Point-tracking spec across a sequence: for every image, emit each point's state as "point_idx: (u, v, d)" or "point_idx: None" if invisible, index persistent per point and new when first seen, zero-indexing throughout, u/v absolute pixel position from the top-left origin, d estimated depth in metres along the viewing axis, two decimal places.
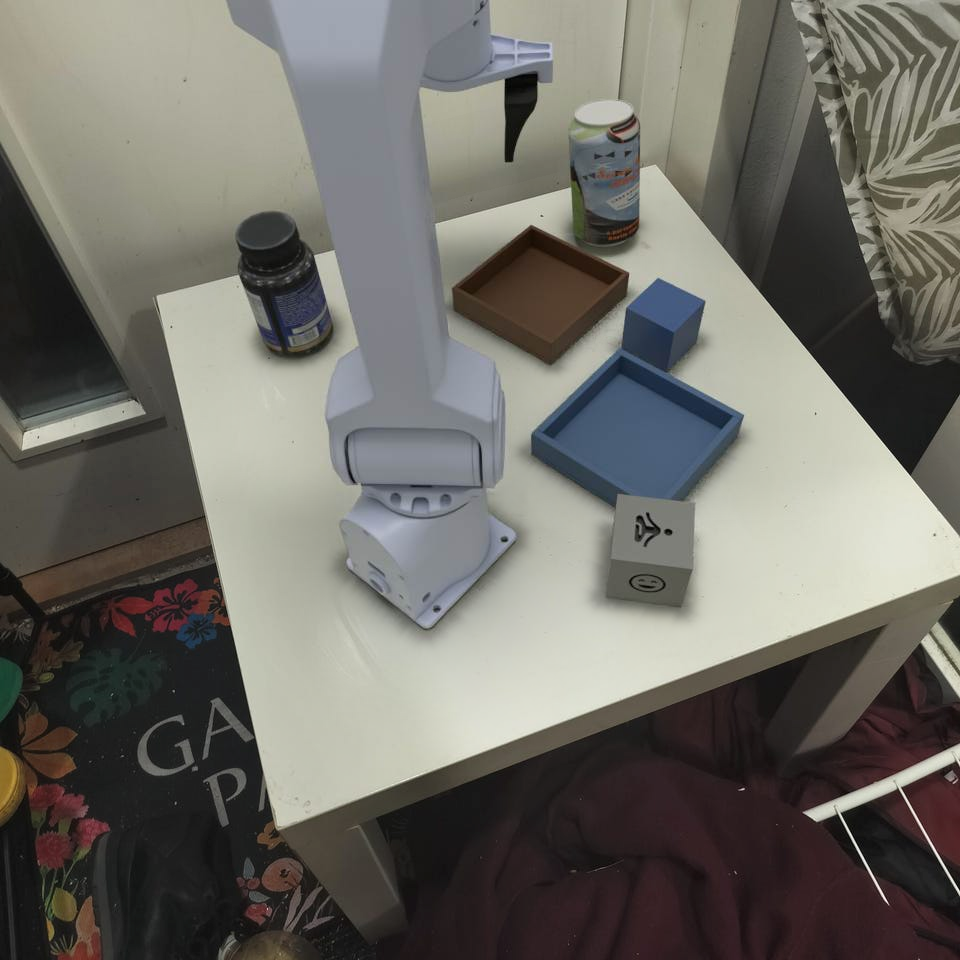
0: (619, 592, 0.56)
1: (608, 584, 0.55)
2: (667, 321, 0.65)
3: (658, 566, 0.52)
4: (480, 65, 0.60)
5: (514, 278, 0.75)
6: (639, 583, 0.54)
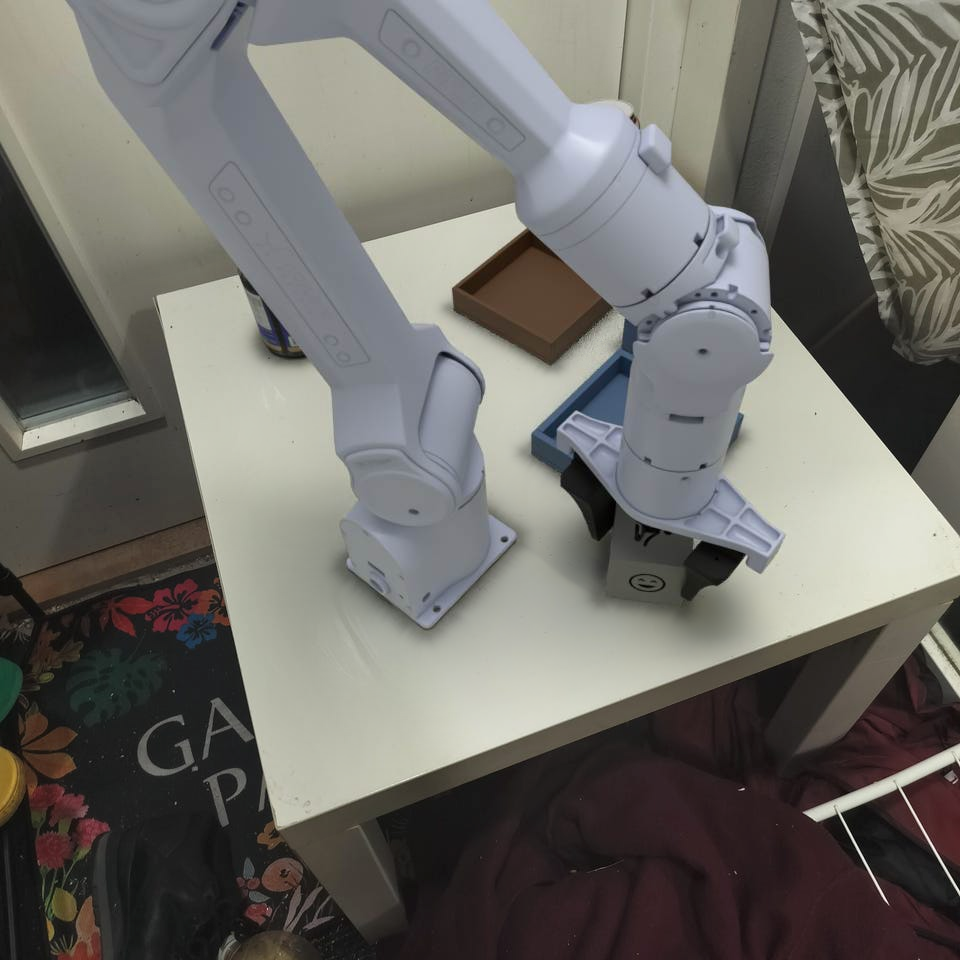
0: (619, 592, 0.56)
1: (608, 584, 0.55)
2: None
3: (658, 566, 0.52)
4: (678, 514, 0.47)
5: (514, 278, 0.75)
6: (639, 583, 0.54)
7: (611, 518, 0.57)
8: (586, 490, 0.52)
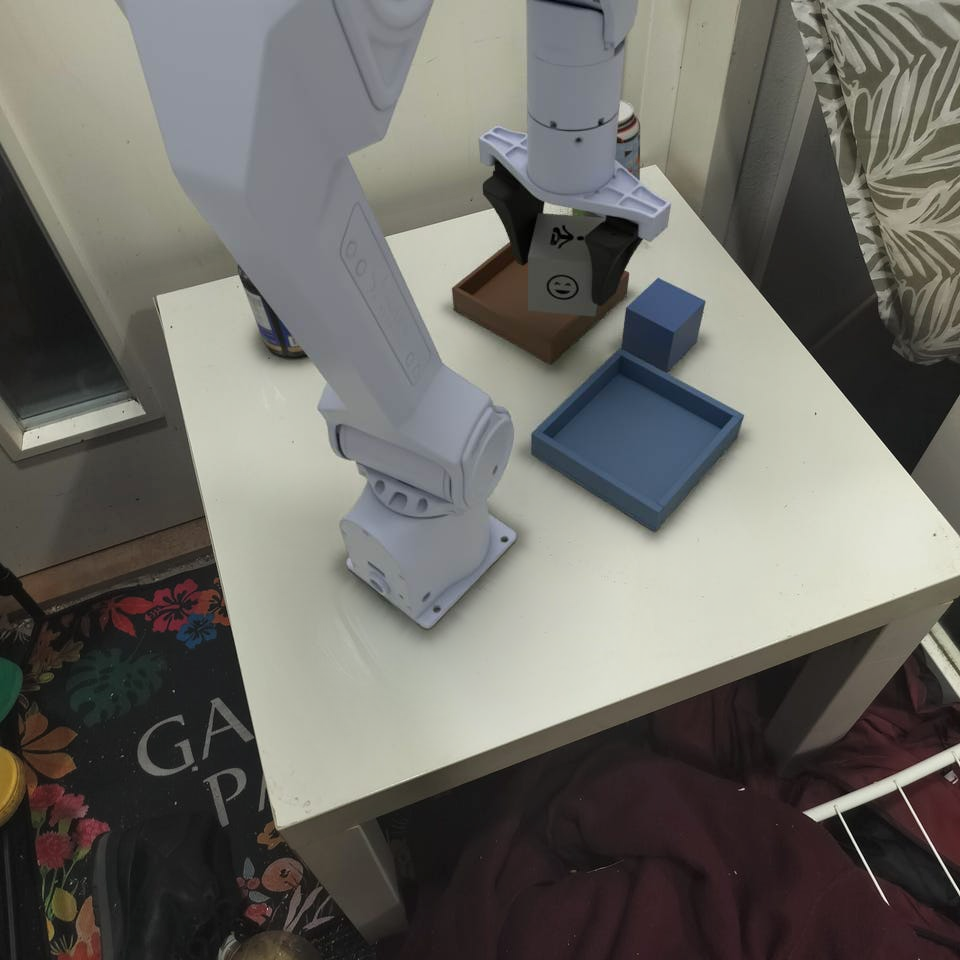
0: (540, 302, 0.62)
1: (529, 293, 0.62)
2: (667, 321, 0.65)
3: (569, 263, 0.59)
4: (578, 187, 0.53)
5: (514, 278, 0.75)
6: (555, 288, 0.61)
7: None
8: (504, 192, 0.58)
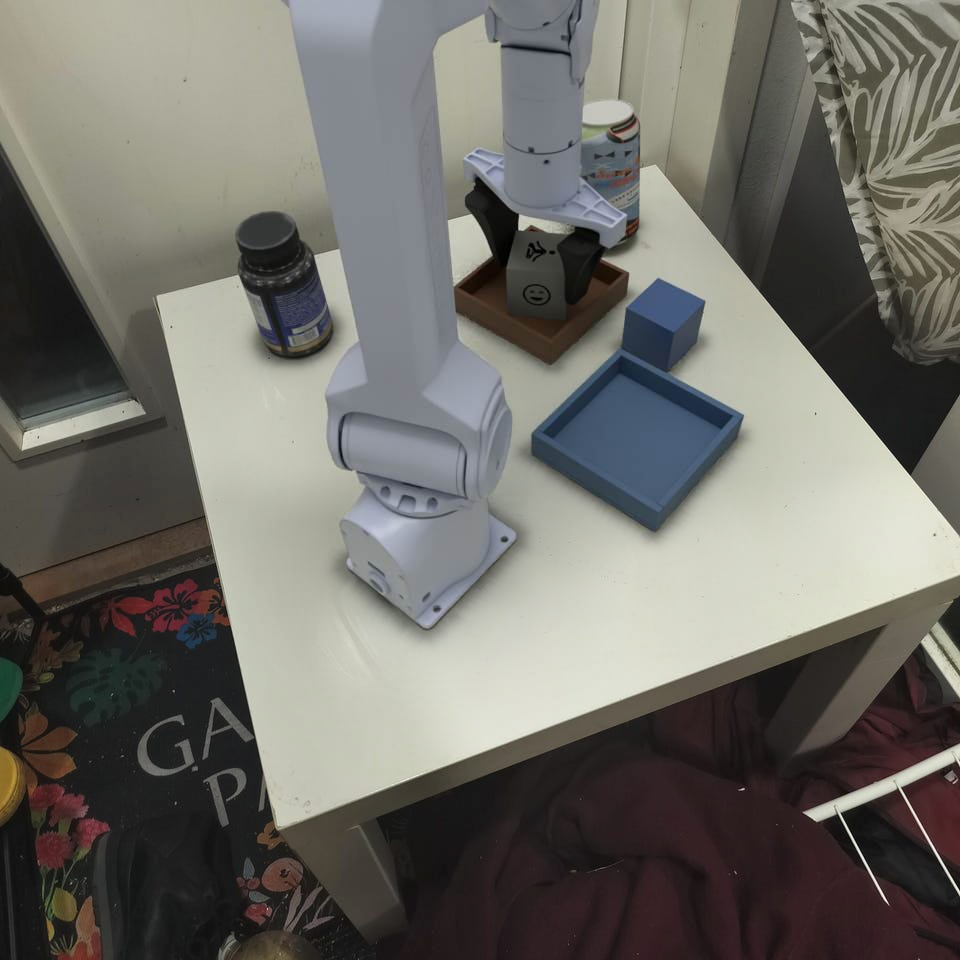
0: (517, 308, 0.71)
1: (508, 299, 0.71)
2: (667, 321, 0.65)
3: (542, 274, 0.68)
4: (547, 202, 0.62)
5: None
6: (531, 295, 0.70)
7: (510, 247, 0.72)
8: (483, 205, 0.67)
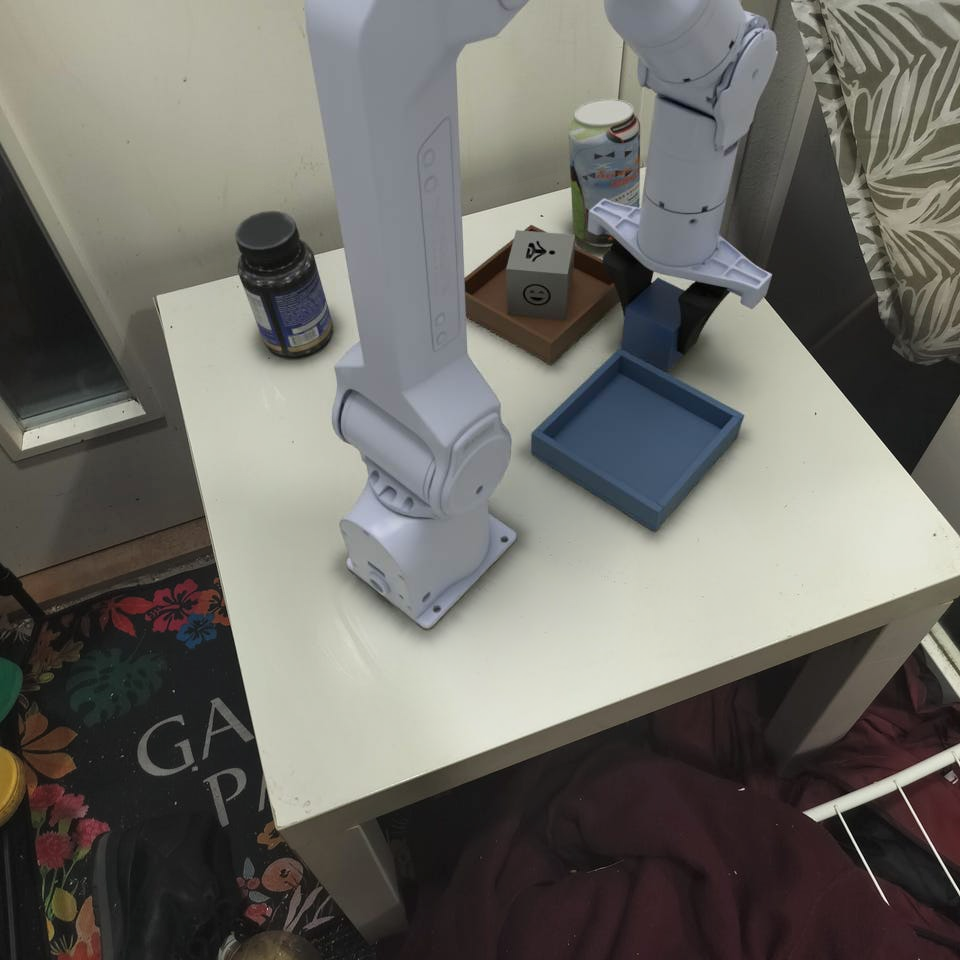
0: (517, 308, 0.71)
1: (508, 299, 0.71)
2: (666, 321, 0.65)
3: (542, 274, 0.68)
4: (687, 260, 0.59)
5: None
6: (531, 295, 0.70)
7: None
8: (624, 266, 0.64)
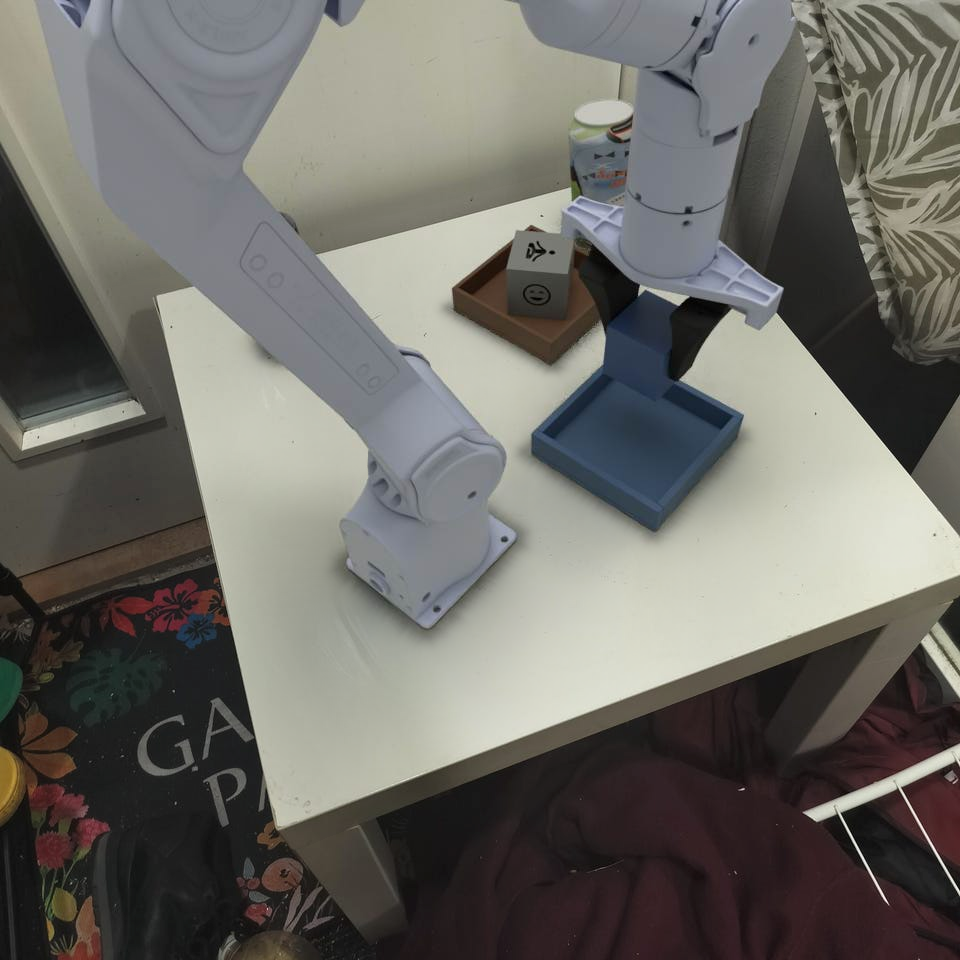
0: (517, 308, 0.71)
1: (508, 299, 0.71)
2: (655, 342, 0.54)
3: (542, 274, 0.68)
4: (680, 271, 0.48)
5: None
6: (531, 295, 0.70)
7: None
8: (604, 277, 0.53)
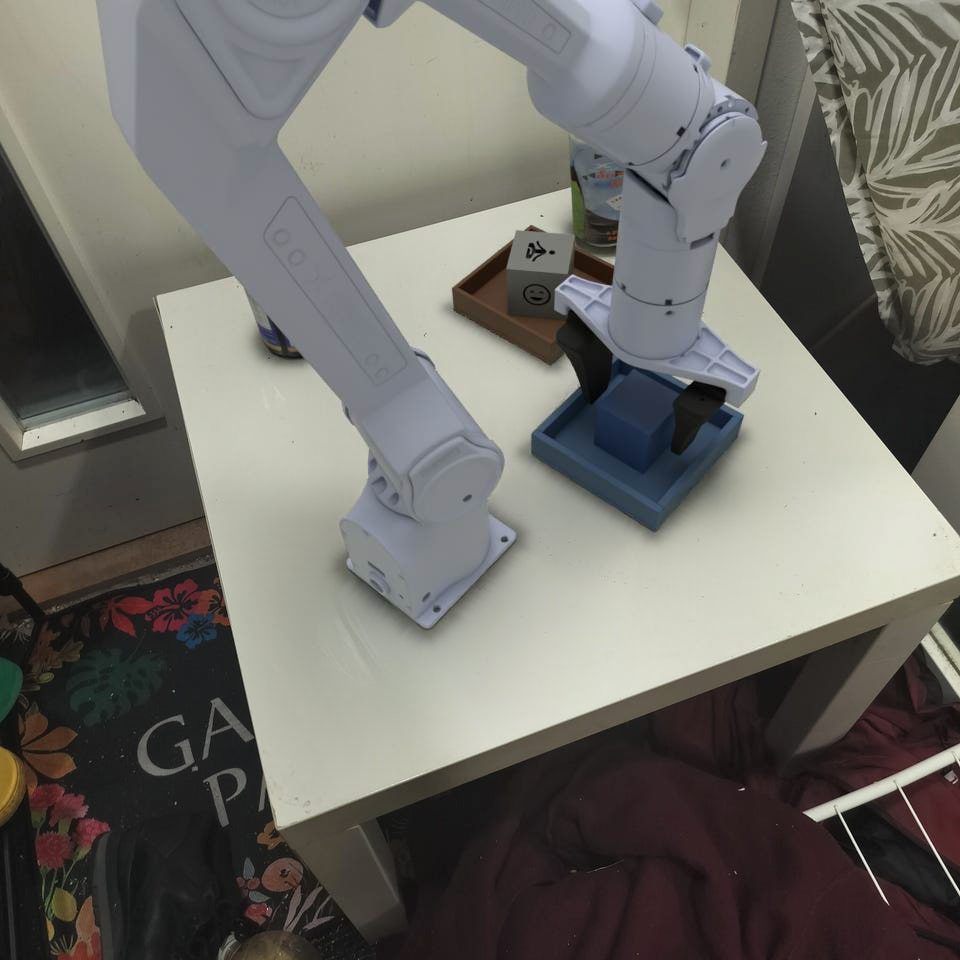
0: (517, 308, 0.71)
1: (508, 299, 0.71)
2: (642, 422, 0.59)
3: (542, 274, 0.68)
4: (664, 353, 0.52)
5: None
6: (531, 295, 0.70)
7: (602, 381, 0.62)
8: (579, 344, 0.57)
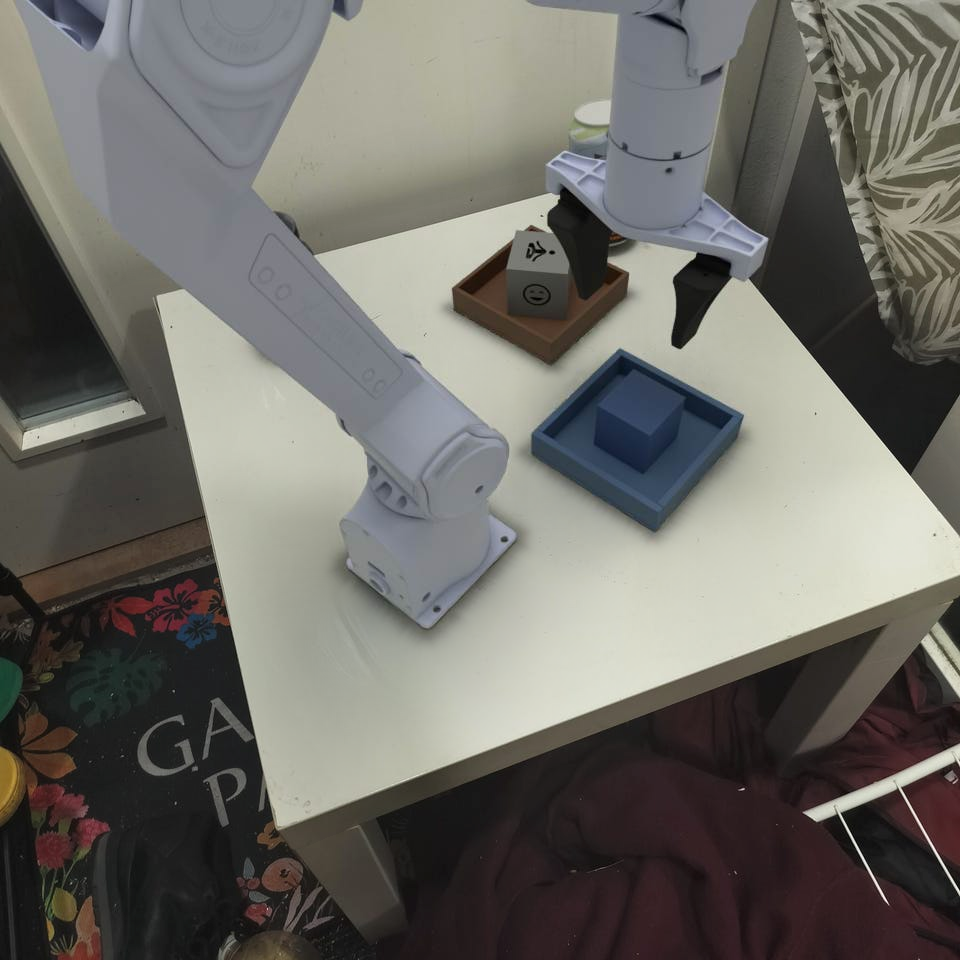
0: (517, 308, 0.71)
1: (508, 299, 0.71)
2: (642, 422, 0.59)
3: (542, 274, 0.68)
4: (664, 222, 0.48)
5: None
6: (531, 295, 0.70)
7: (598, 275, 0.58)
8: (572, 223, 0.53)
